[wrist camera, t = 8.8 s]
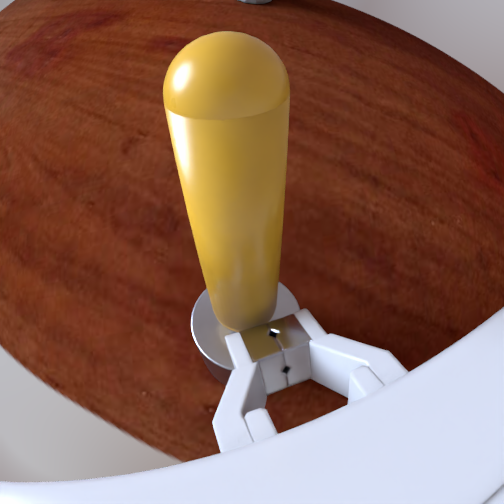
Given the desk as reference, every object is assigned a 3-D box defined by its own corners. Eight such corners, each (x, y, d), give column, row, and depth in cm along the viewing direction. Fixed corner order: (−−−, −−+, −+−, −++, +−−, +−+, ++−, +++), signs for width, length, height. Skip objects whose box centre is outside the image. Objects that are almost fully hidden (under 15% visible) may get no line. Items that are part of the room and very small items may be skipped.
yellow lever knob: (310, 334, 16) (384, 34, 5) (263, 408, 14) (272, 109, 3) (236, 294, 18) (205, 9, 7) (185, 359, 16) (47, 75, 4)
